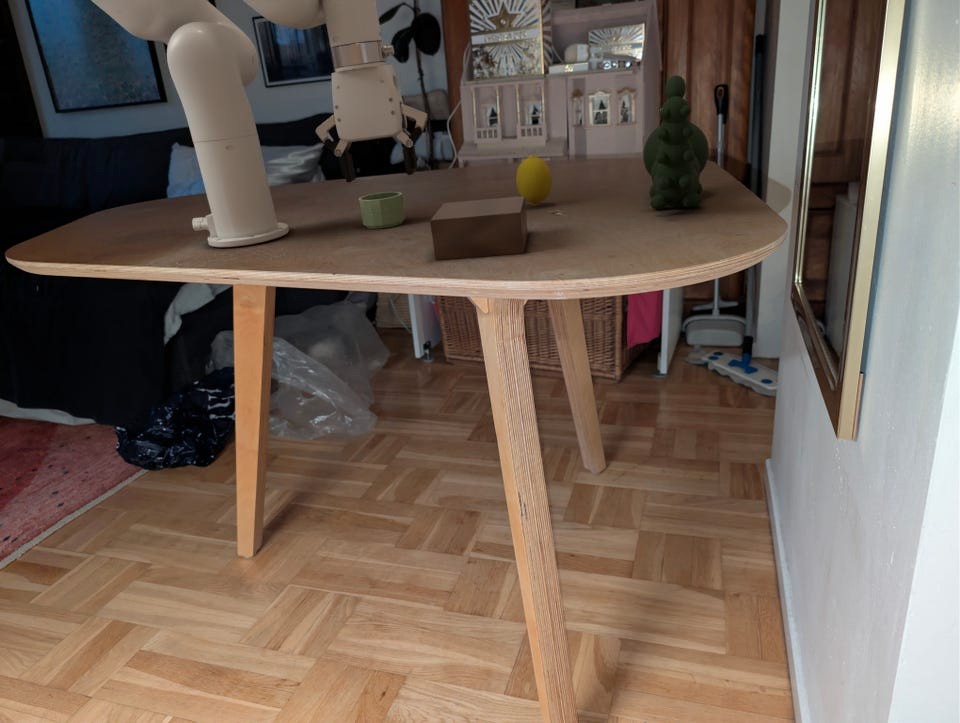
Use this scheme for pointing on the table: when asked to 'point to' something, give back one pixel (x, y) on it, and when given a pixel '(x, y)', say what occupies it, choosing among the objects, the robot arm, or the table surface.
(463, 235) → the stand
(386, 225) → the bowl
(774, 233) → the table surface
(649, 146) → the toy figurine
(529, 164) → the lemon
